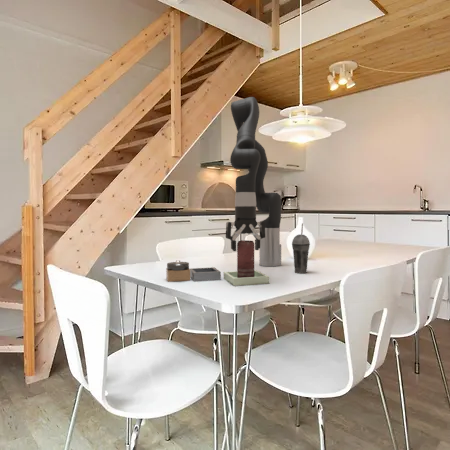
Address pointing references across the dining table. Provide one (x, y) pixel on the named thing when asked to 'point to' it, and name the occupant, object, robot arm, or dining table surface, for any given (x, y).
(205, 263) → the dining table surface
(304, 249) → the beverage cup
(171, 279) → the brown and grey dock
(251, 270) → the can
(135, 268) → the dining table surface
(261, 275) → the tray
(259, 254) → the robot arm
